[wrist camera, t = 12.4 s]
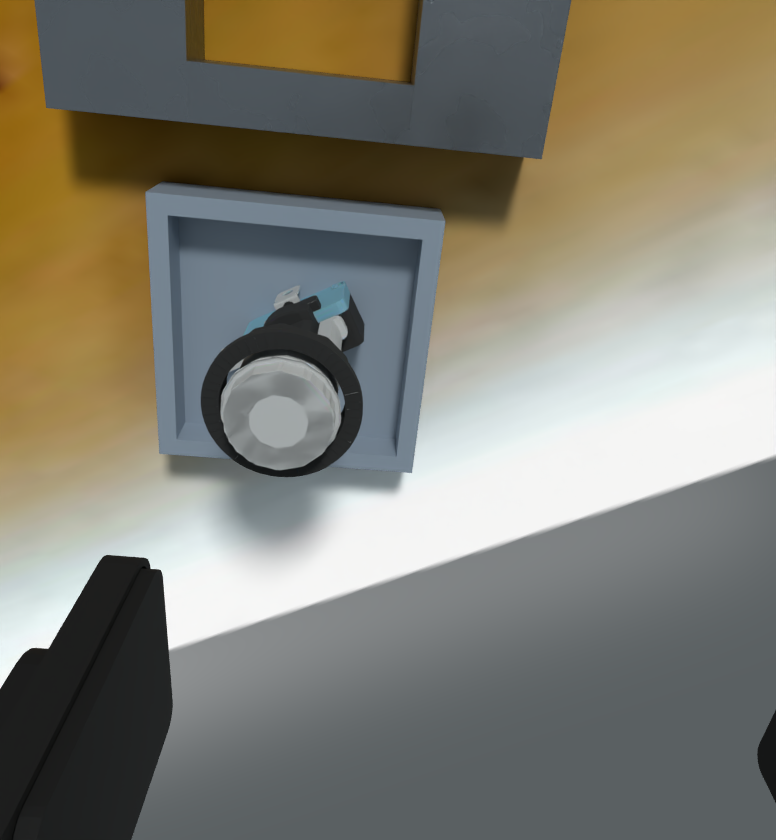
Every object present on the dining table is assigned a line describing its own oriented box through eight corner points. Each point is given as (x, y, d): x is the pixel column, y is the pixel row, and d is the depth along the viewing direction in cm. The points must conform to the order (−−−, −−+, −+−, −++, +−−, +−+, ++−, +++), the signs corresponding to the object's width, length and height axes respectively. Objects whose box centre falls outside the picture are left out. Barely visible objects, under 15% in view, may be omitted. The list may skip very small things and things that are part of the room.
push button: (253, 400, 33) (209, 526, 25) (195, 299, 31) (124, 398, 22) (384, 347, 32) (388, 459, 24) (334, 238, 30) (317, 316, 21)
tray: (440, 208, 30) (445, 221, 28) (409, 446, 36) (411, 472, 33) (162, 181, 30) (145, 192, 28) (173, 427, 35) (159, 453, 33)
